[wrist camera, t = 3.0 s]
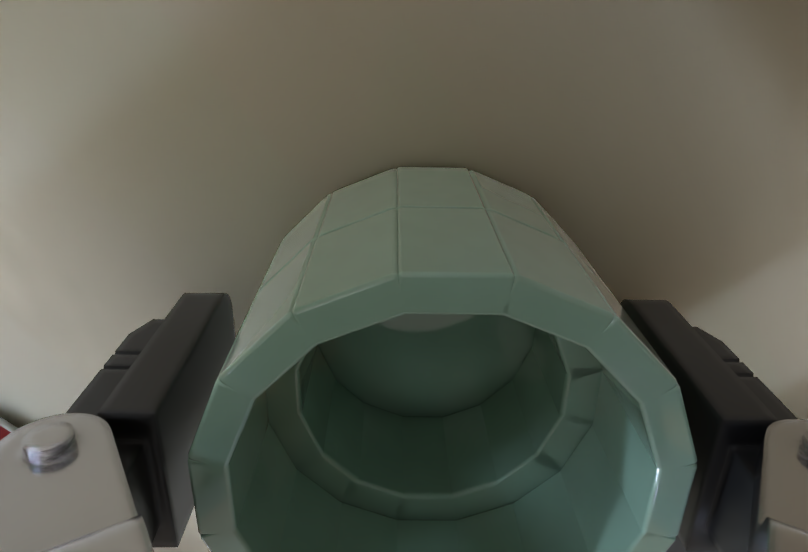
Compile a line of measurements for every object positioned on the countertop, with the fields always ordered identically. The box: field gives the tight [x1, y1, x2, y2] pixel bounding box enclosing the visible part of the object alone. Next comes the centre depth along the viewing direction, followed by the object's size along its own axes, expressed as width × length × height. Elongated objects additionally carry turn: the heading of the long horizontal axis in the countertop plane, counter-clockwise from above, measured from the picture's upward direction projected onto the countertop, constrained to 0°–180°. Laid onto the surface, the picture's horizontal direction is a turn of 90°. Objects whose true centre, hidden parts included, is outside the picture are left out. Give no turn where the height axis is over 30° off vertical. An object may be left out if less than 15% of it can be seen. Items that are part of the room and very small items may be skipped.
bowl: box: [188, 167, 697, 552], centre depth 10 cm, size 6×6×5 cm
